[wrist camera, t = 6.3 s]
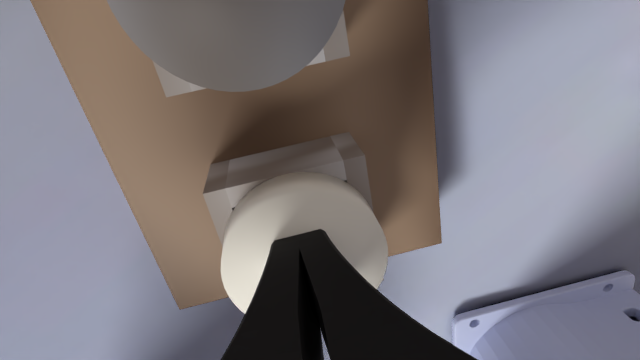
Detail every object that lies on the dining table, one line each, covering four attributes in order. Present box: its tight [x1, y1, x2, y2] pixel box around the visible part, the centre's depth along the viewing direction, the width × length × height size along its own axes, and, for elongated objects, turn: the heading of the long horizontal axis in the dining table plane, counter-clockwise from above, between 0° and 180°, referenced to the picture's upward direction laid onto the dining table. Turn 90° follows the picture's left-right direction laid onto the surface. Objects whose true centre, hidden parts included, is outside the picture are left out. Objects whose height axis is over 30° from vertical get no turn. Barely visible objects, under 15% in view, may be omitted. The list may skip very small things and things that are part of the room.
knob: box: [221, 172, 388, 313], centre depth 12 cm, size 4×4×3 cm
